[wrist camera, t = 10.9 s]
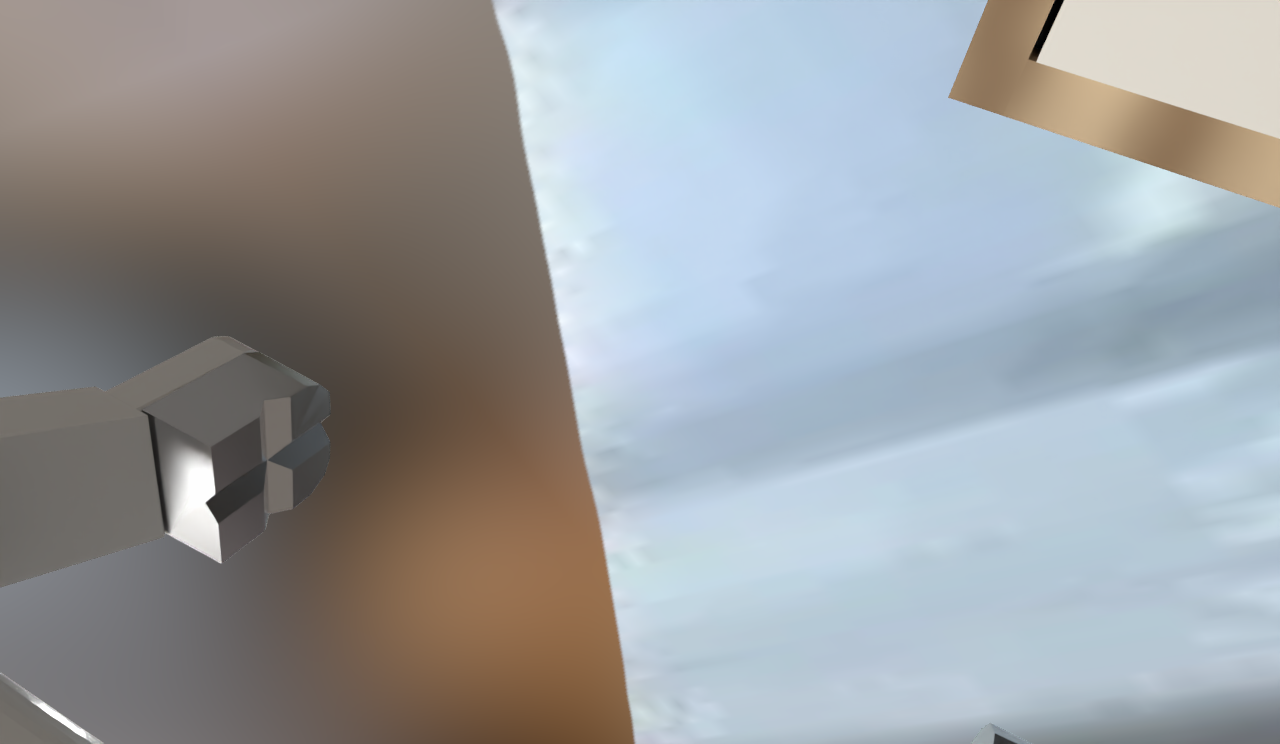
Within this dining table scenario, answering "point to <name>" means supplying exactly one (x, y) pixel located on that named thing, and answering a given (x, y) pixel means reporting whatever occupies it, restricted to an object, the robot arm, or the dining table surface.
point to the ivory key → (1178, 53)
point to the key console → (1106, 109)
